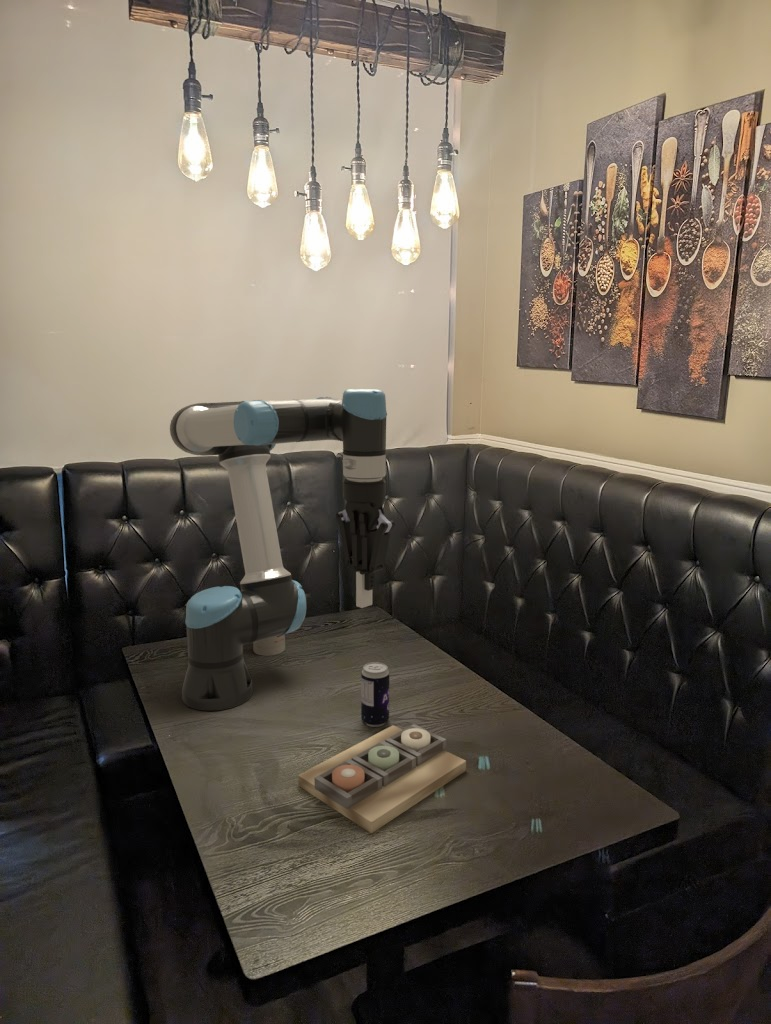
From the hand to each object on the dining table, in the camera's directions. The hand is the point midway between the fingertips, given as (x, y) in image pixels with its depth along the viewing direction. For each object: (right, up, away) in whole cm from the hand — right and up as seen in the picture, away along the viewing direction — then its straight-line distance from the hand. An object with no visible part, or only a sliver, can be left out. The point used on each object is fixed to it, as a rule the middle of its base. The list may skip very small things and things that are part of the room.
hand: (364, 605), depth 128 cm
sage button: (+4, -28, -5) cm, 29 cm away
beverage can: (+2, -26, +15) cm, 30 cm away
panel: (+4, -30, -4) cm, 31 cm away
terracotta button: (-2, -29, -11) cm, 31 cm away
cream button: (+9, -27, +1) cm, 28 cm away
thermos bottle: (-26, -18, +51) cm, 60 cm away
